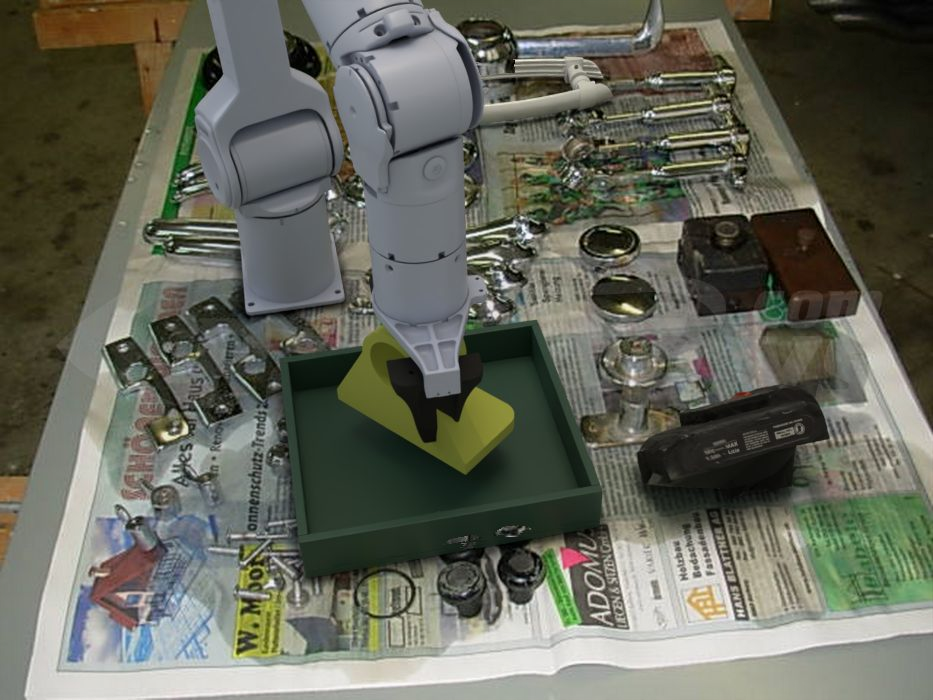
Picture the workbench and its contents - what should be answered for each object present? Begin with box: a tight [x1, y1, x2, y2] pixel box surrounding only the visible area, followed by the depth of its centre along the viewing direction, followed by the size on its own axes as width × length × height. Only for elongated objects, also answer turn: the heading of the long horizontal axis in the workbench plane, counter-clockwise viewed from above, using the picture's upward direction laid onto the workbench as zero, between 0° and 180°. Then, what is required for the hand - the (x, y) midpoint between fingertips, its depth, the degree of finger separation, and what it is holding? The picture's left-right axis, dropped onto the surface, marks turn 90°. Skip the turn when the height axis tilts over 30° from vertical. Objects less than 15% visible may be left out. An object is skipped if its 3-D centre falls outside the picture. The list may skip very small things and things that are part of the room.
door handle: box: [478, 56, 614, 125], centre depth 113 cm, size 3×10×25 cm
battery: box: [636, 383, 830, 501], centre depth 73 cm, size 12×8×7 cm
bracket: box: [337, 323, 514, 475], centre depth 73 cm, size 11×6×10 cm, turn 51°
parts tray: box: [278, 319, 604, 579], centre depth 76 cm, size 17×19×4 cm
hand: (428, 400), depth 74 cm, fingers closed on bracket, 6 cm apart
